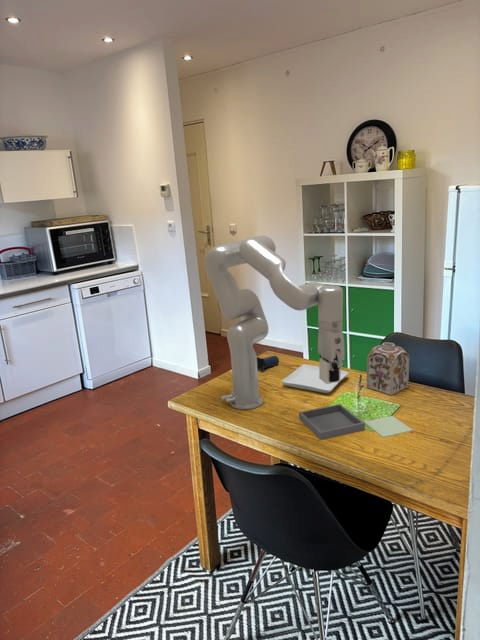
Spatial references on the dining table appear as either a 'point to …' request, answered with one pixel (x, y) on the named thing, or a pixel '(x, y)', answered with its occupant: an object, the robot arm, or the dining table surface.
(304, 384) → the salad plate
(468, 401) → the dining table surface
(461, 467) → the dining table surface
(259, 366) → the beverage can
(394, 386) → the decorative jar
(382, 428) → the mat
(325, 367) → the labelled box
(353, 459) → the dining table surface
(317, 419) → the bin
